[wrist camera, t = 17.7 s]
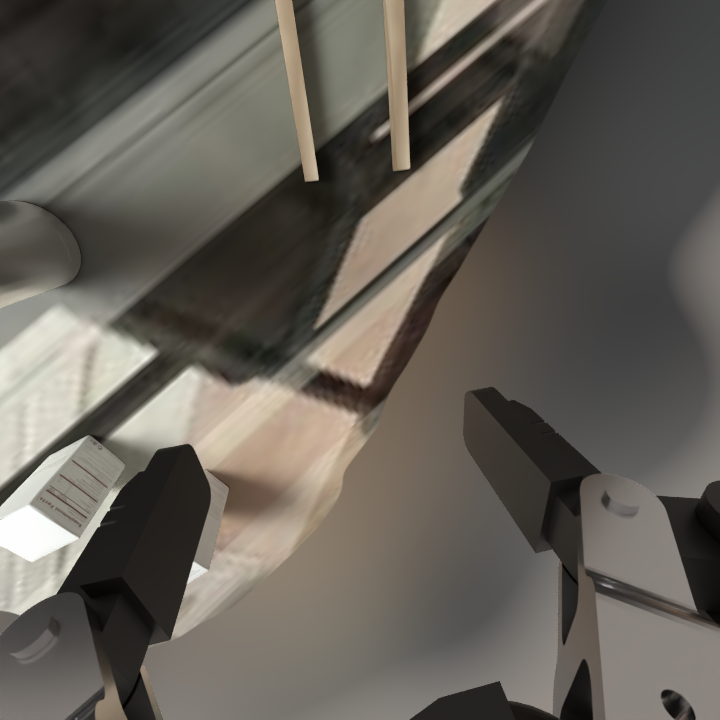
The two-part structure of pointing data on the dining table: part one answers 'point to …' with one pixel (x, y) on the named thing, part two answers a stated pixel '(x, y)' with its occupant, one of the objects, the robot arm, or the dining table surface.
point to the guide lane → (395, 74)
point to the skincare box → (209, 527)
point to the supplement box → (58, 499)
